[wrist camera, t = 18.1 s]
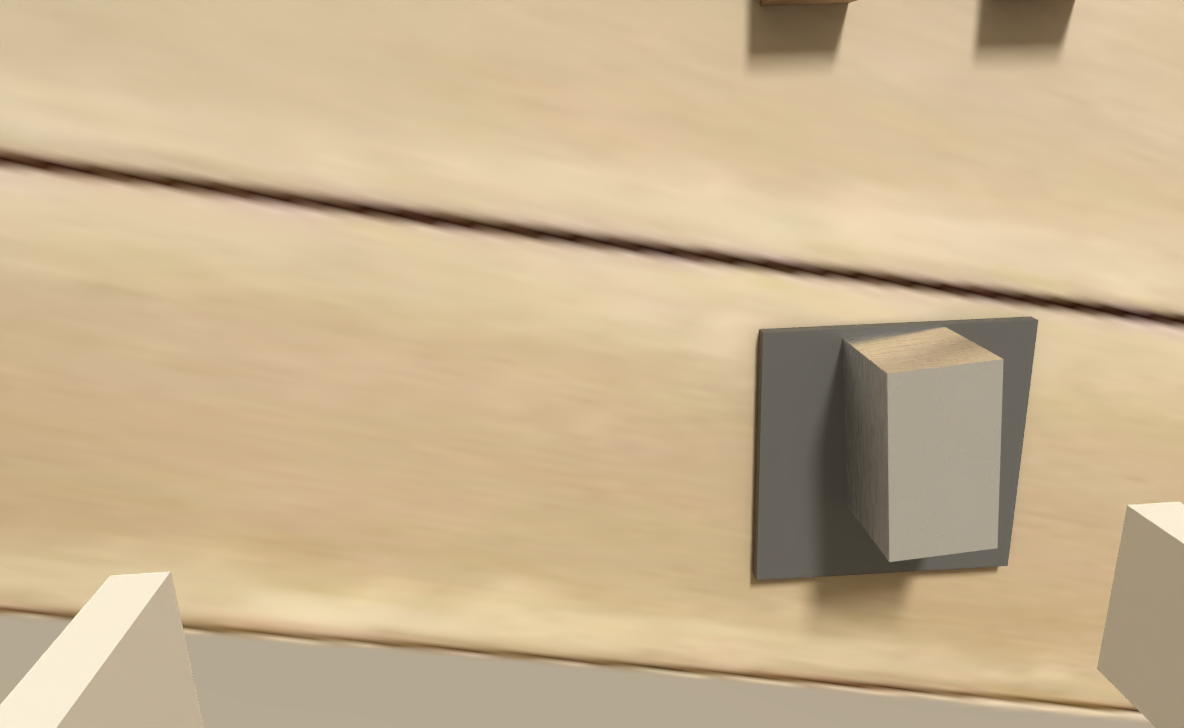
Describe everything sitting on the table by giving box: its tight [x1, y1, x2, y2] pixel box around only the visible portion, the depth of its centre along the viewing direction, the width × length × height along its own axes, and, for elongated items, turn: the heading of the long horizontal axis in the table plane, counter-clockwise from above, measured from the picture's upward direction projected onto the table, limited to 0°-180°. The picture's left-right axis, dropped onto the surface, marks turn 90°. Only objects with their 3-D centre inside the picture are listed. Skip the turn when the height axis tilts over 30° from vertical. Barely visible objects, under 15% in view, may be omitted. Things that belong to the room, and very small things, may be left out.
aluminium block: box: [843, 326, 1004, 562], centre depth 35 cm, size 4×8×5 cm, turn 7°
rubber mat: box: [754, 317, 1038, 580], centre depth 38 cm, size 12×12×1 cm
